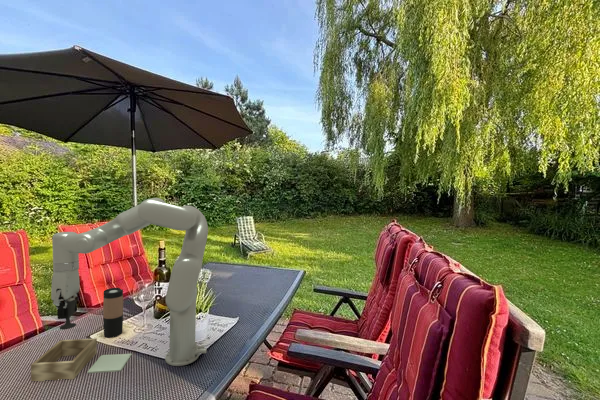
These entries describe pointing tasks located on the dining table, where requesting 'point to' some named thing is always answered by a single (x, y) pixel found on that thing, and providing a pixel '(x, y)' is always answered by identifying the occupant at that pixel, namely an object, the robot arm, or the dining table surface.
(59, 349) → the crate
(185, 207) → the robot arm
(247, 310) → the dining table surface
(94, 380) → the dining table surface
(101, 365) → the mat
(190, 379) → the dining table surface
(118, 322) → the travel mug
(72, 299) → the sundae
